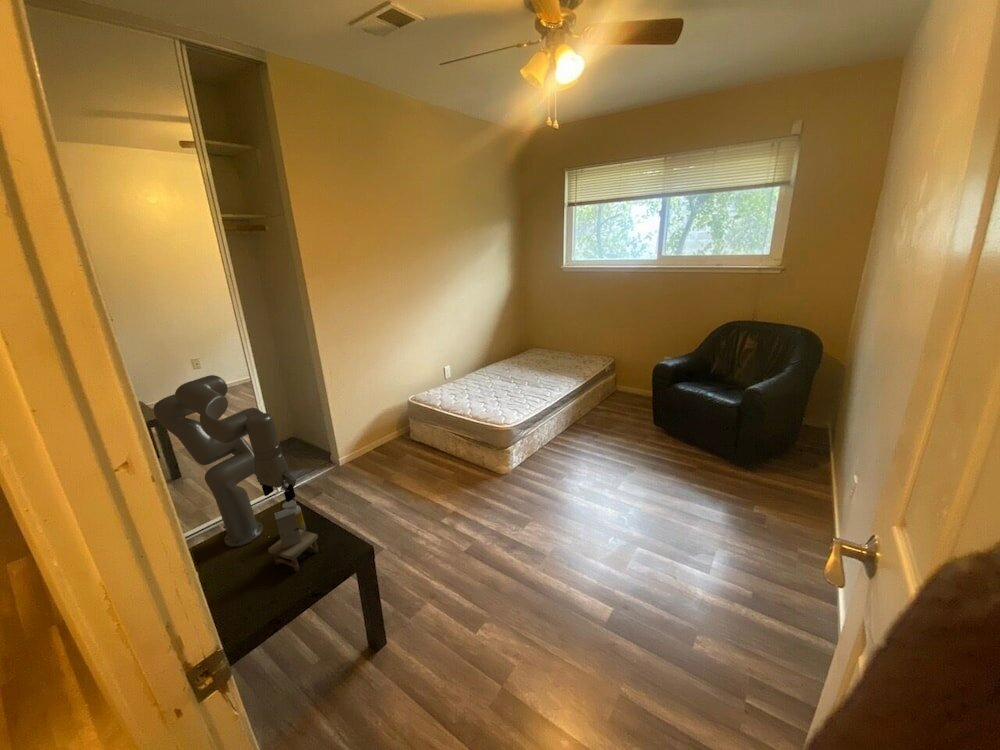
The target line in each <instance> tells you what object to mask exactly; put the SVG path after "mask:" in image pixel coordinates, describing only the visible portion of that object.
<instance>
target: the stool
mask: <svg viewBox="0 0 1000 750" xmlns="http://www.w3.org/2000/svg"><path fill="white" fill-rule="evenodd" d="M299 532H300V536H301V540H302V541H301V542H299V543H297V544H294V545H292V546H289V547H287V548H284V549H283V546H282V542H281V539H278V540H277V541H276V542H275V543H274V544H272V545H271V546H270V547H268V549H267V551H268V553H269V554H272V557H273V560H274V563H275V565H276V566H280V565H281V564H283V565H287V566H290V567H292V568H293V570H294V572H299V571H300V565H299V562H298V559H297V557H299V556H300V555H301V554H302V553H303V552H304V551H305V550H307V549H308V548H310V549H312V551H313V553H314V554H317V553H319V545H318V543H317V540H318V538H319V536H318V534H317V533H313V532H311V531H307V530H305V531H304V530H300V529H299ZM280 557H281V558H280ZM283 558H284V559H283ZM287 559H288V560H290V561H288V560H287Z"/></svg>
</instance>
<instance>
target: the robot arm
mask: <svg viewBox="0 0 1000 750" xmlns="http://www.w3.org/2000/svg"><path fill="white" fill-rule="evenodd" d="M228 390H229V389H228V384H227V383H226V381H225V380H224V379H223V378H221V377H220V376H218V375H214V374H213V375H211V374H210V375H205V376H203V377H200V378H197V379H194V380H191V381H187V382H185V383H183V384H181V385H180V386H178V388H177V389H176V390H175V392H174V394H172V395H168V396H167V397H164V398H161V399H160V400H158V401H157V402H155V404H154V405H153V409H152V411H153V415H154V416H155V419H156V420H157V421H158V423H159V424H160V425H161V426H162V427H163V428H164V429H165V430H167V431H168V432H170V433H171V434H172V435H173V436H175V437H176V438H177V439H178V440H179V442H180V443H181V444H182V446H183V447H184V448H185V449H186V450H187V452H188V454H190V455H191V457H192V458H193V459H194V461H195V462H197V464H199V465H200V466H208V465H210V464H213V463H215V462H217V461H220V460H221V459H224V458H225V457H227V456H229V455H232V456H231V457H229V458H227V459H224V460H222V461H221V462H218V463H217V464H215V465H213V466H212V467H210V468H209V469H208V470H206V472H205V474H204V481H205V483H206V485H207V487H208V488H209V490H210V491H211V493H212V495H213V497H214V500H215V502H216V504H217V507H218V510H219V513H220V516H221V519H222V521H223V526H222V528H223V529H224V530H226V533H227V534H226V535H225V536H224V543H225V545H226V546H228V547H231V548H232V547H233V548H235V547H236V548H237V547H240V546H245V545H247V544H249V543H252V542H253V541H255V540H256V539H257V538H258V537H259V536H260V535H261V534H262V533H263V531H264V527H263V526H264V525H263V524H262V523H261V522H260V521H257V520H256V518H255V513H254V511H253V508H252V505H251V501H250V497H249V495H248V492H247V490H246V489H245V488H243V487H241V486H239V485H238V484H240V483H241V482H243V481H244V480H246V479H248V478H249V477H251V476H253V475H255V477H256V480H257V481H258V483H259V485H260V486H261V489H262V491H263V495H264V496H265V497H267V496H269V495H270V494H272V493H273V492H274V491H275V490H274V488H279V489H280V488H282V489H283V494H284V495H283V496H284V497H285V502H289V501H291V500H294V498H296V492H295V489H294V488H295V486H296V485H297V484H296V482H297V479H296V477H294V476H292V475H291V473H290V470H289V467H288V463H287V461H286V459H285V457H284V454H283V451H282V446H281V444H280V440H279V436H278V435H279V434H278V432H277V429H276V424H275V423H276V422H275V420H274V417H273V414H270V413H267V412H263V411H261V410H260V409H259V408H257V407H249V408H246V409H244V410H241V411H238V412H235V413H234V414H231V415H229V416H227V417H224V418H221V417H223V415H224V414H225V413H226V411H227V410H228V407H229V401H228V398H227V397H226V395H227V393H228ZM195 413H197V414H199V420H195V419H193V418H188V417H187V416H190V415H193V414H195ZM220 418H221V419H220ZM247 435H248V439H249V442H250V444H249V443H248V442H247V440H246V439H245V438H244V437H245V436H247ZM286 484H287V485H286Z"/></svg>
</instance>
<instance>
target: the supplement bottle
mask: <svg viewBox="0 0 1000 750" xmlns="http://www.w3.org/2000/svg"><path fill="white" fill-rule="evenodd" d="M281 506H282V510H284V509H288V508H291V507H293V508H294V511H295V515H296V519H297V523H298V527H299V529H300V530H304V531H306V528H307V526H306V521H305V520H304V519H305V518H304V516H303V512H302V508H301V506H300V505H298V504H297V501H296V500H295V499H292V500H291V501H289V502H286V501H285V502H283V504H282V505H281Z"/></svg>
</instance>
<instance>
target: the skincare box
mask: <svg viewBox="0 0 1000 750" xmlns="http://www.w3.org/2000/svg"><path fill="white" fill-rule="evenodd" d="M274 518H275V522H276V523H275V524H276V527H277V532H278V534H279V538H280V539H281V542H282V546H283V549H284V548H287V547H289V546H292V545H294V544H297V543H299V542H301V541H302V540H301V536H300V532H299V527H298V523H297V519H296V515H295V511H294V508H293V507H291V508H288V509H284V510H283V509H282V510H280V511H277V512H274ZM280 539H279V540H280Z"/></svg>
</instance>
